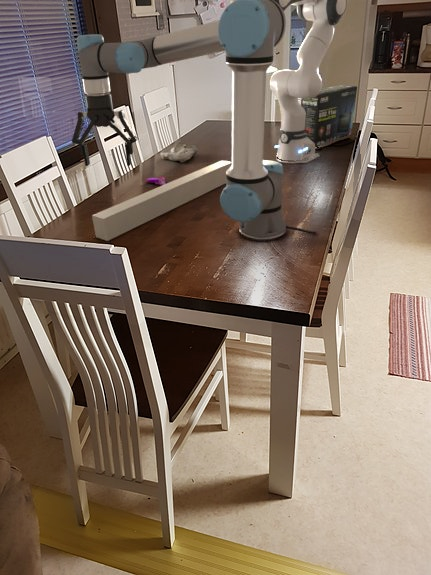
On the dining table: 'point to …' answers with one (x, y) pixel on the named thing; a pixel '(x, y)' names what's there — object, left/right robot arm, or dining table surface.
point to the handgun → (157, 180)
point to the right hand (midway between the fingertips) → (241, 65)
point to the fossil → (179, 152)
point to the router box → (330, 113)
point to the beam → (158, 201)
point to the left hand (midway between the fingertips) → (108, 164)
